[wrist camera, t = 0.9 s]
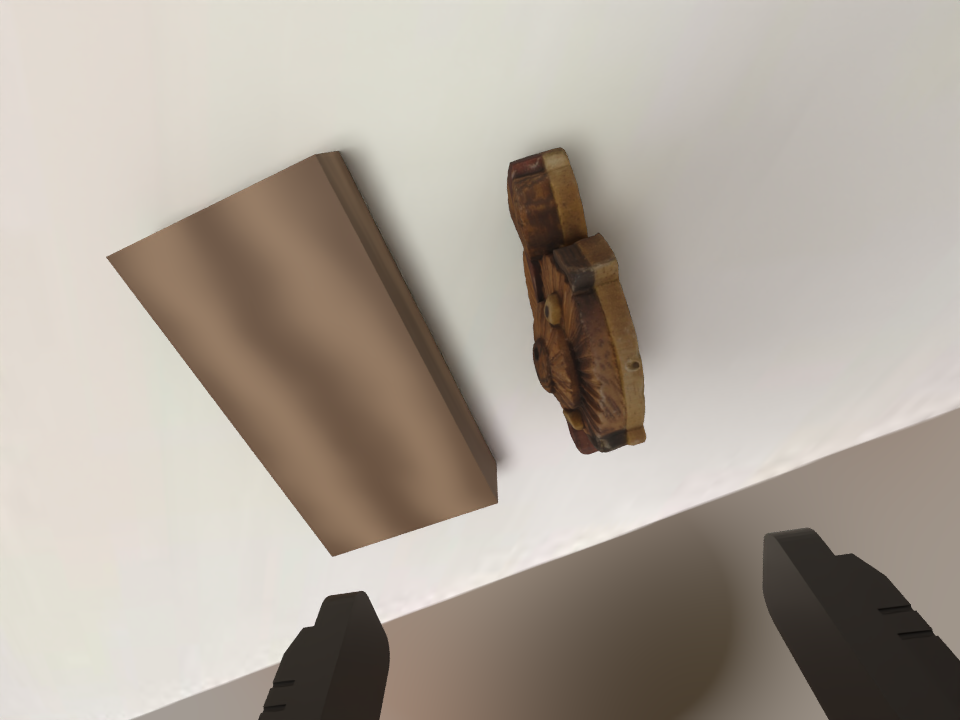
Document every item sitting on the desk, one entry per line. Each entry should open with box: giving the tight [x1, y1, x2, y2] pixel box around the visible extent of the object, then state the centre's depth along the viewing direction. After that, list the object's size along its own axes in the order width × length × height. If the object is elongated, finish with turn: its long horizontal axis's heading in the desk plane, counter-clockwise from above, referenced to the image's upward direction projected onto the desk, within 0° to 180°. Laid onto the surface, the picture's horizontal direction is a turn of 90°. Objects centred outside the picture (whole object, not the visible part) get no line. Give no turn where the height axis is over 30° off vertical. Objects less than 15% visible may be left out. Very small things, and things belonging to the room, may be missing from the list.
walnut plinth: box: [106, 151, 498, 557], centre depth 29 cm, size 12×22×4 cm, turn 23°
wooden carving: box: [507, 147, 646, 454], centre depth 25 cm, size 16×5×10 cm, turn 21°
